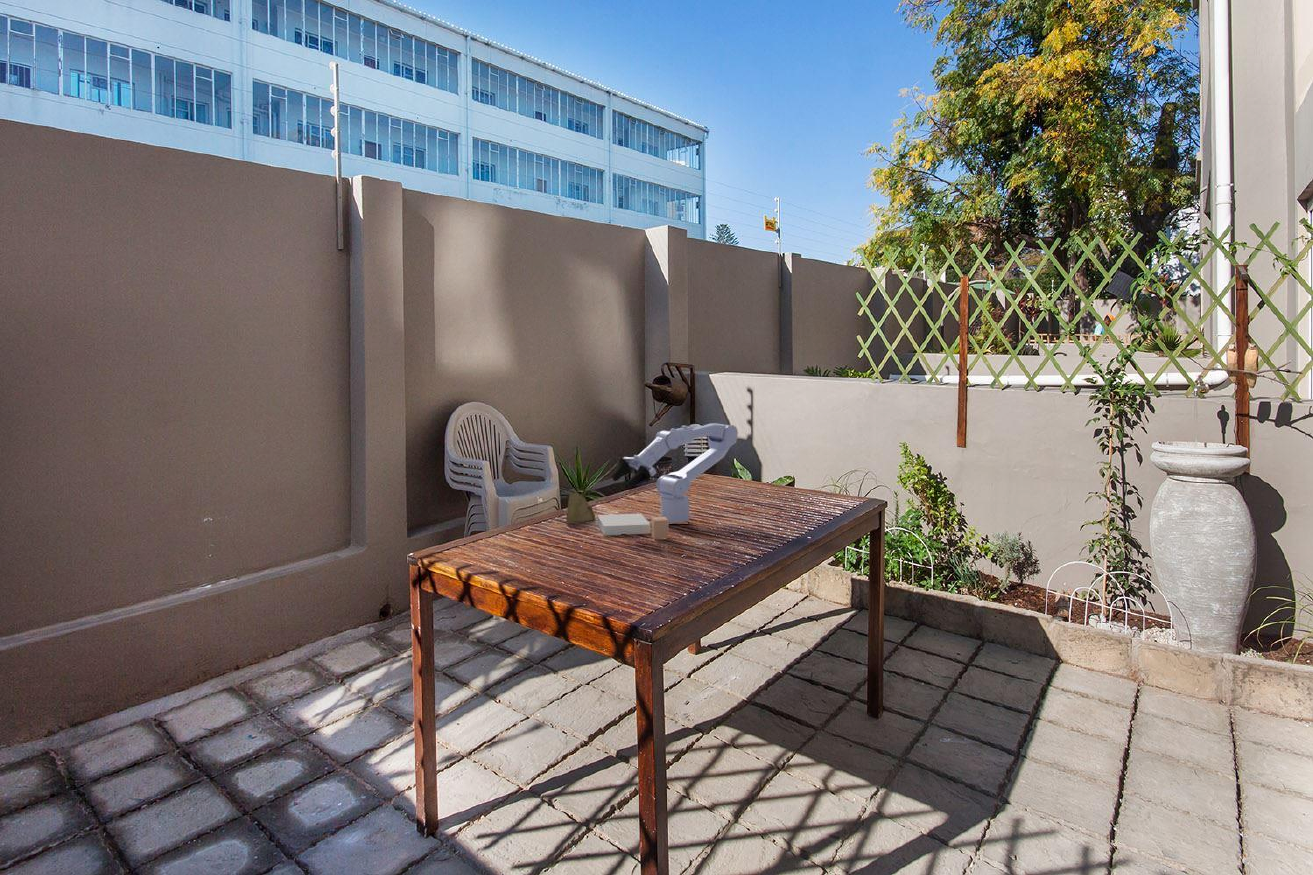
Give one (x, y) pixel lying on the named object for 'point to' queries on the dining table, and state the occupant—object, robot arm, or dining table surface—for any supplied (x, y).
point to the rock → (578, 509)
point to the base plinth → (623, 524)
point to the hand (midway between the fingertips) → (621, 482)
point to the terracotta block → (659, 527)
